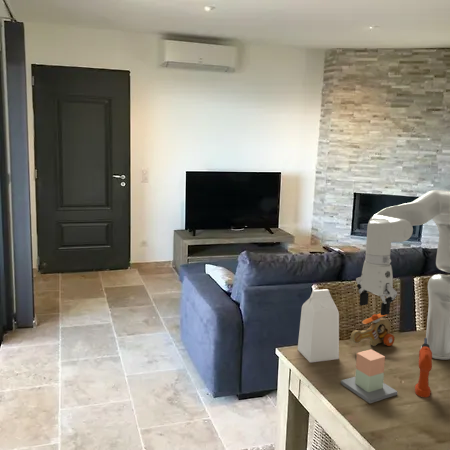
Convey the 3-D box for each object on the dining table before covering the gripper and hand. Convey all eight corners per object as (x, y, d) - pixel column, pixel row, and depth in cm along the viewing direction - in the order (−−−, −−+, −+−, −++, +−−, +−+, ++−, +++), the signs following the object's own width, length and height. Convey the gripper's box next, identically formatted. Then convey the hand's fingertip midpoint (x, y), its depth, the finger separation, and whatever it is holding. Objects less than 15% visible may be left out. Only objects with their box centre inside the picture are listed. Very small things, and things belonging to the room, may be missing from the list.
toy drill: (430, 369, 179) (433, 332, 175) (430, 401, 163) (434, 361, 158) (415, 366, 181) (419, 330, 176) (414, 398, 164) (418, 358, 160)
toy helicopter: (396, 344, 203) (398, 312, 200) (359, 355, 193) (361, 322, 190) (380, 337, 210) (383, 306, 207) (344, 347, 200) (346, 315, 197)
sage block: (369, 379, 172) (370, 364, 171) (382, 388, 166) (384, 372, 165) (355, 383, 169) (356, 368, 168) (368, 392, 164) (369, 376, 162)
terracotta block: (370, 364, 171) (371, 349, 170) (383, 372, 165) (385, 356, 164) (355, 368, 168) (356, 352, 167) (369, 376, 162) (370, 360, 161)
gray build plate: (367, 376, 177) (367, 372, 177) (397, 394, 165) (397, 391, 164) (340, 383, 171) (341, 380, 171) (369, 403, 159) (369, 400, 159)
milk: (324, 346, 201) (328, 284, 196) (338, 358, 190) (342, 293, 185) (297, 349, 198) (299, 286, 193) (310, 362, 187) (312, 296, 182)
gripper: (407, 264, 153) (402, 316, 157) (367, 251, 169) (364, 299, 172) (388, 266, 150) (384, 320, 153) (350, 253, 165) (347, 303, 168)
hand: (374, 309), depth 163 cm, fingers open, 9 cm apart
